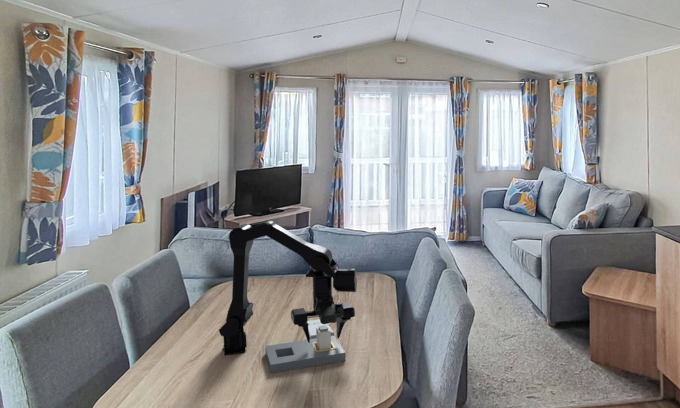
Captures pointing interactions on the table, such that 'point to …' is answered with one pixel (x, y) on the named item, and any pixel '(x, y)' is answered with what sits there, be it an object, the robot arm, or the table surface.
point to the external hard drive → (313, 325)
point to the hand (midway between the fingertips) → (323, 340)
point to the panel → (302, 355)
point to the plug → (323, 337)
